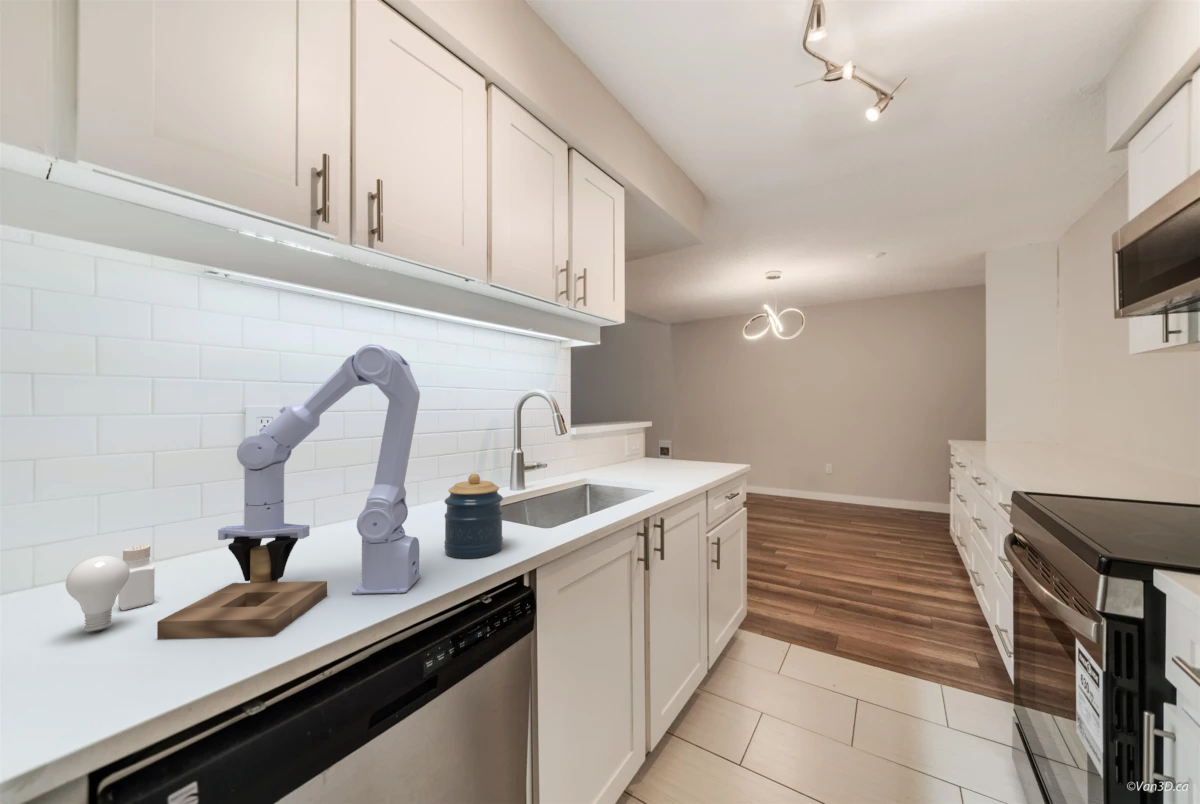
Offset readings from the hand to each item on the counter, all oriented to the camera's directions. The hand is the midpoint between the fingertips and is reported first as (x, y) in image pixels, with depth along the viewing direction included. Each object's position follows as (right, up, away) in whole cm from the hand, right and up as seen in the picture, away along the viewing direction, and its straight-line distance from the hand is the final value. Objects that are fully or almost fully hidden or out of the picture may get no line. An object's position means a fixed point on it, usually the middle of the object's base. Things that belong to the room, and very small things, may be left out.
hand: (264, 578), depth 81 cm
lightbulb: (-14, -3, -14) cm, 20 cm away
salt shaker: (-18, -3, -5) cm, 19 cm away
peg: (0, -2, 0) cm, 2 cm away
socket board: (+4, -2, -9) cm, 10 cm away
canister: (+31, -3, +24) cm, 39 cm away
